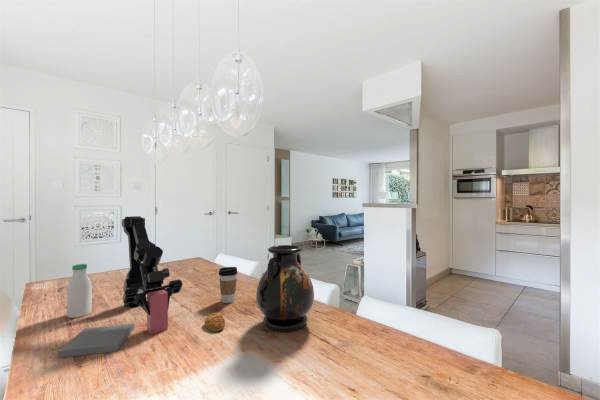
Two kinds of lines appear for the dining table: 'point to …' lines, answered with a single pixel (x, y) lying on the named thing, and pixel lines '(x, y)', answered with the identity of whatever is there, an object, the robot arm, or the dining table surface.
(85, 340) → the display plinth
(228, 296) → the coffee cup
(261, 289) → the amphora vase
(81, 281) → the milk bottle
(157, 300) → the red rectangular block
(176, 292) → the robot arm
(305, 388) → the dining table surface
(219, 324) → the pastry
